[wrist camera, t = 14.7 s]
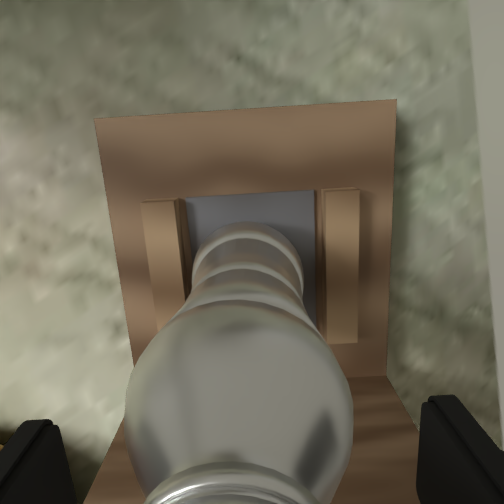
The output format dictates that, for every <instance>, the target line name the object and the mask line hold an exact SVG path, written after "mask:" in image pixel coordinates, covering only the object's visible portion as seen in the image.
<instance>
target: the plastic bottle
mask: <svg viewBox="0 0 504 504" xmlns="http://www.w3.org/2000/svg"><path fill="white" fill-rule="evenodd" d="M303 289H304V274H303V266H302V263H301V259H300V257H299V255H298V253H297V251H296V249H295V247H294V246H293V245H292V244H291V242H290V241H289V240H288V239H287V238H286V237H285V236H284V235H282V234H281V233H280V232H278V231H277V230H275V229H273V228H271V227H270V226H267V225H264V224H262V223H259V222H252V221H242V222H236V223H232V224H228V225H225V226H223V227H221V228H219V229H217V230H216V231H214V232H213V233H212V234H211V235H209V236H208V237H207V238H206V239H205V241H204V242H203V243H202V244H201V246H200V248H199V250H198V251H197V253H196V256H195V260H194V263H193V270H192V290H191V294H190V295H189V297H188V298H187V300H186V302H185V303H184V305H183V307H182V308H181V309H180V310H179V311H178V312H177V313H176V314H175V315H174V316H173V317H172V318H171V319H170V320H169V321H168V322H167V324H166V325H165V326H163V327H162V329H161V330H160V331H159V332H158V333H157V334H156V336H155V337H154V338H153V339H152V340H151V341H150V343H149V344H148V346H147V347H146V349H145V350H144V352H143V353H142V354H141V356H140V357H139V359H138V361H137V363H136V365H135V367H134V369H133V371H132V373H131V375H130V379H129V383H128V387H127V391H126V400H125V414H124V438H125V443H126V447H127V452H128V456H129V459H130V461H131V464H132V467H133V470H134V473H135V475H136V478H137V481H138V483H139V486H140V488H141V490H142V492H143V494H144V496H145V498H146V500H145V502H144V504H330V503H331V501H332V499H333V497H334V494H335V492H336V490H337V488H338V486H339V483H340V481H341V479H342V477H343V475H344V472H345V470H346V468H347V466H348V463H349V459H350V454H351V450H352V445H353V424H354V417H353V400H352V396H351V392H350V388H349V384H348V381H347V379H346V377H345V375H344V373H343V371H342V370H341V368H340V366H339V364H338V362H337V360H336V358H335V356H334V354H333V352H332V350H331V348H330V347H329V346H328V345H327V343H326V341H325V340H324V339H323V337H322V336H321V334H320V333H319V331H318V330H317V329H316V327H315V326H314V324H313V323H312V321H311V320H310V319H309V316H308V314H307V312H306V310H305V308H304V305H303V300H302V296H303Z"/></svg>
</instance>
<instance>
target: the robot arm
mask: <svg viewBox="0 0 504 504" xmlns="http://www.w3.org/2000/svg"><path fill="white" fill-rule="evenodd" d="M416 491H417V495H418V499H419V501H420V503H421V504H504V451H502V450H500V449H499V448H498V447H497V445H496V444H495V443H494V442H493V441H492V439H491V438H490V437H489V436H488V435H487V433H486V432H485V431H484V430H483V428H482V427H481V426H480V425H479V424H478V422H477V421H476V420H475V419H474V418H473V416H472V415H471V414H470V413H469V411H468V410H467V409H466V408H465V407H464V405H463V404H462V403H461V402H460V400H459V399H458V398H457V397H456V396H455V395H438V396H430V397H429V398H428V402H424V403H423V404H422V408H421V421H420V434H419V448H418V461H417V474H416ZM0 504H78V503H77V499H76V495H75V491H74V487H73V482H72V478H71V474H70V470H69V466H68V462H67V458H66V454H65V449H64V445H63V441H62V437H61V433H60V429H59V427H58V426H57V425H53V422H52V421H51V420H49V419H43V420H27V421H25V422H23V423H22V424H21V425H20V427H19V428H18V429H17V430H16V432H15V433H14V434H13V435H12V437H11V438H10V439H9V440H8V442H7V443H6V444H5V446H4V447H3V448H2V449H1V451H0Z"/></svg>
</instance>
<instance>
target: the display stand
mask: <svg viewBox="0 0 504 504" xmlns="http://www.w3.org/2000/svg"><path fill="white" fill-rule="evenodd" d="M396 106H397V99H391V100H376V101H360V102H344V103H329V104H313V105H298V106H282V107H266V108H251V109H235V110H220V111H204V112H188V113H173V114H157V115H142V116H126V117H110V118H95V119H94V122H95V128H96V134H97V141H98V147H99V153H100V159H101V165H102V171H103V178H104V184H105V190H106V196H107V202H108V209H109V215H110V221H111V227H112V233H113V239H114V246H115V252H116V258H117V264H118V270H119V277H120V283H121V289H122V295H123V301H124V308H125V314H126V320H127V326H128V332H129V338H130V345H131V351H132V357H133V363H134V367H135V365H136V363H137V361H138V359H139V357H140V356H141V354H142V353H143V352H144V350H145V349H146V347H147V346H148V344H149V343H150V341H151V340H152V339H153V338H154V337H155V336H156V334H157V333H158V332H159V331H160V330H161V329H162V327H163V326H165V325H166V324H167V322H168V321H169V320H170V319H171V318H172V317H173V316H174V315H175V314H176V313H177V312H178V311H179V310H180V309H181V308H182V307H183V305H184V303H185V302H186V300H187V298H188V297H189V295H190V294H191V290H192V270H193V263H194V260H195V256H196V253H197V251H198V250H199V248H200V246H201V244H202V243H203V242H204V241H205V239H206V238H207V237H208V236H209V235H211V234H212V233H213V232H214V231H216V230H217V229H219V228H221V227H223V226H225V225H228V224H232V223H236V222H242V221H252V222H259V223H262V224H264V225H267V226H270V227H271V228H273V229H275V230H277V231H278V232H280V233H281V234H282V235H284V236H285V237H286V238H287V239H288V240H289V241H290V242H291V244H292V245H293V246H294V247H295V249H296V251H297V253H298V255H299V257H300V259H301V263H302V266H303V274H304V289H303V296H302V300H303V305H304V308H305V310H306V312H307V314H308V316H309V319H310V320H311V321H312V323H313V324H314V326H315V327H316V329H317V330H318V331H319V333H320V334H321V336H322V337H323V339H324V340H325V341H326V343H327V345H328V346H329V347H330V348H331V350H332V352H333V354H334V356H335V358H336V360H337V362H338V364H339V366H340V368H341V370H342V371H343V373H344V375H345V377H346V379H347V381H348V384H349V388H350V392H351V396H352V400H353V417H354V424H353V445H352V450H351V454H350V459H349V463H348V466H347V468H346V470H345V472H344V475H343V477H342V479H341V481H340V483H339V486H338V488H337V490H336V492H335V494H334V497H333V499H332V501H331V503H330V504H421V503H420V501H419V499H418V495H417V491H416V474H417V461H418V448H419V434H420V433H419V431H418V429H417V428H416V426H415V424H414V423H413V421H412V419H411V417H410V416H409V414H408V412H407V411H406V409H405V407H404V405H403V404H402V402H401V400H400V399H399V397H398V395H397V393H396V392H395V390H394V388H393V387H392V385H391V383H390V381H389V380H388V378H387V376H386V365H387V339H388V314H389V288H390V262H391V236H392V210H393V184H394V158H395V132H396ZM145 500H146V498H145V496H144V494H143V492H142V490H141V488H140V486H139V483H138V481H137V478H136V475H135V473H134V470H133V467H132V464H131V461H130V459H129V456H128V452H127V447H126V443H125V438H124V418H123V420H122V422H121V424H120V427H119V429H118V431H117V433H116V435H115V437H114V439H113V441H112V443H111V446H110V448H109V450H108V452H107V454H106V456H105V458H104V460H103V462H102V465H101V467H100V469H99V471H98V473H97V475H96V477H95V479H94V481H93V484H92V486H91V488H90V490H89V492H88V494H87V496H86V498H85V500H84V503H83V504H144V502H145Z"/></svg>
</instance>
